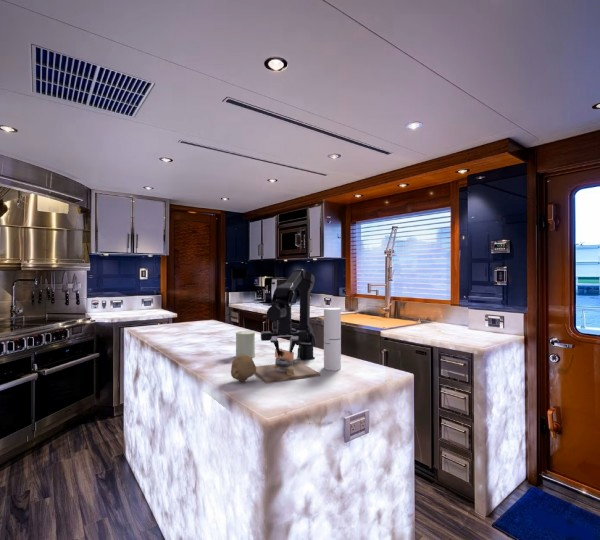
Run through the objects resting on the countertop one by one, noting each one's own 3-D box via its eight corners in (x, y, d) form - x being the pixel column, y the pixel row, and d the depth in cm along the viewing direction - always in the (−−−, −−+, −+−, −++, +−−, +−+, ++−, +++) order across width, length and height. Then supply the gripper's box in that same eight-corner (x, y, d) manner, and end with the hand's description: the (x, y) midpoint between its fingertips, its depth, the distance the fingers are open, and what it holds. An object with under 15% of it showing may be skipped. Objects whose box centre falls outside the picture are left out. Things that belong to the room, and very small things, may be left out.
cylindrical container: (340, 370, 146) (340, 309, 146) (322, 369, 147) (322, 309, 147) (341, 366, 153) (341, 308, 153) (325, 365, 154) (325, 307, 154)
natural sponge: (259, 379, 134) (259, 352, 134) (249, 386, 126) (249, 358, 126) (238, 377, 137) (238, 351, 137) (226, 384, 128) (226, 356, 128)
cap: (298, 365, 142) (298, 350, 142) (284, 368, 138) (284, 353, 138) (283, 361, 149) (283, 347, 149) (270, 363, 144) (270, 349, 144)
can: (233, 355, 173) (233, 330, 173) (251, 353, 177) (251, 329, 177) (238, 359, 164) (238, 333, 164) (257, 357, 168) (257, 332, 168)
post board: (299, 363, 157) (299, 356, 157) (319, 375, 139) (319, 367, 139) (250, 369, 148) (250, 361, 148) (266, 383, 130) (266, 374, 130)
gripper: (303, 314, 153) (303, 351, 153) (259, 315, 150) (260, 353, 150) (308, 318, 142) (308, 357, 142) (261, 319, 139) (261, 359, 139)
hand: (284, 356), depth 143 cm, fingers closed on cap, 4 cm apart
